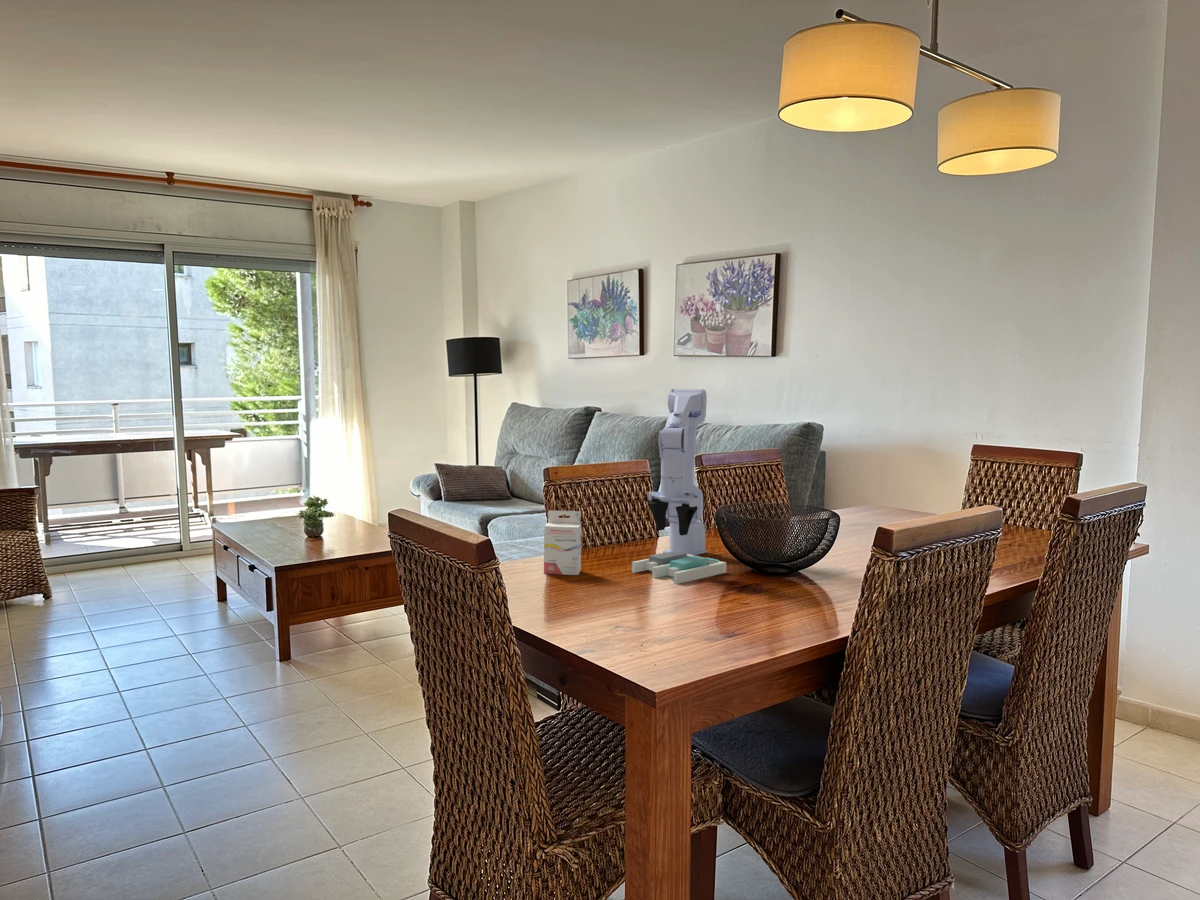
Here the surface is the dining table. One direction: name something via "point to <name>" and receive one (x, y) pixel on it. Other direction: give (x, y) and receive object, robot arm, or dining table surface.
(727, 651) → the dining table surface
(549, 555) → the ink cartridge box
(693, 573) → the cable comb
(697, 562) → the teal plug
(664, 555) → the grey plug
